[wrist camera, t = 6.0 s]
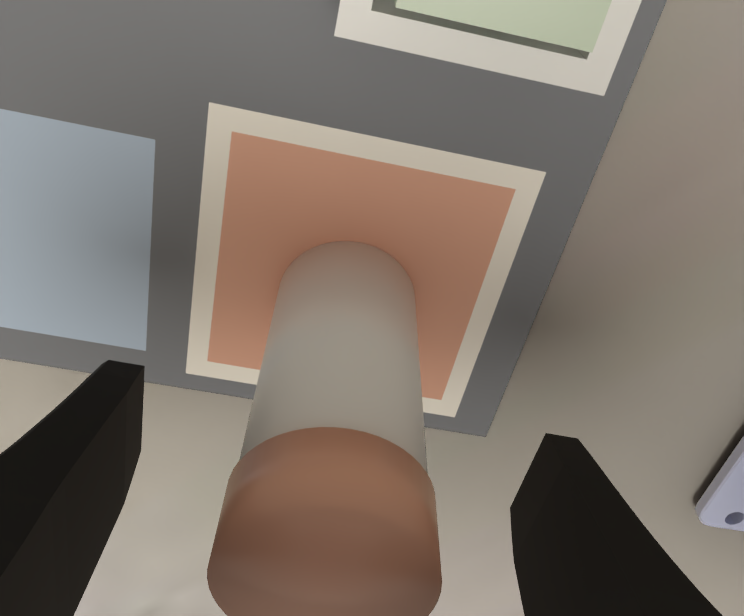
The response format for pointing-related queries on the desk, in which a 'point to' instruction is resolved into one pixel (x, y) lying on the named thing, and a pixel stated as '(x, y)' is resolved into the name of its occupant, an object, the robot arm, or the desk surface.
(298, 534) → the cylinder
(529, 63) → the button housing
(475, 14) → the button
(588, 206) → the desk surface
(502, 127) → the picture sheet
